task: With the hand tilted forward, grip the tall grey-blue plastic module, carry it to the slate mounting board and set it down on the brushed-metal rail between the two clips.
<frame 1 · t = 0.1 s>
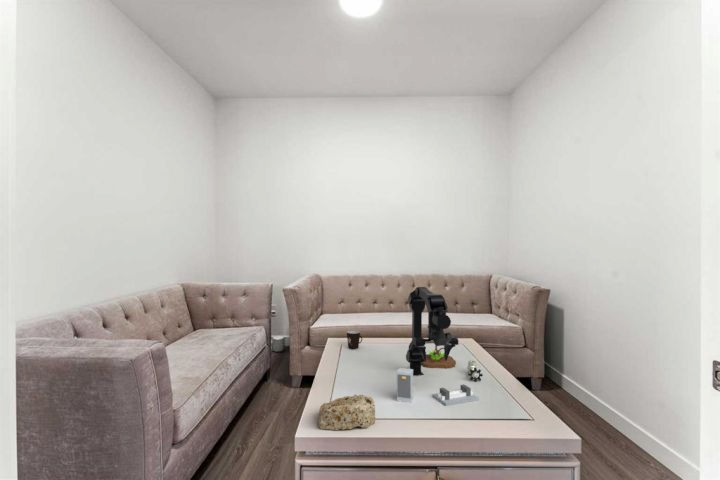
hand: (435, 361, 155), 15 cm above the table, tool pointing down, fingers open, 9 cm apart
rock: (347, 422, 132), on the table
plant: (436, 363, 200), on the table
module: (405, 399, 151), on the table
rail: (455, 398, 152), on the table
valve: (473, 378, 177), on the table
coffee mug: (354, 348, 228), on the table
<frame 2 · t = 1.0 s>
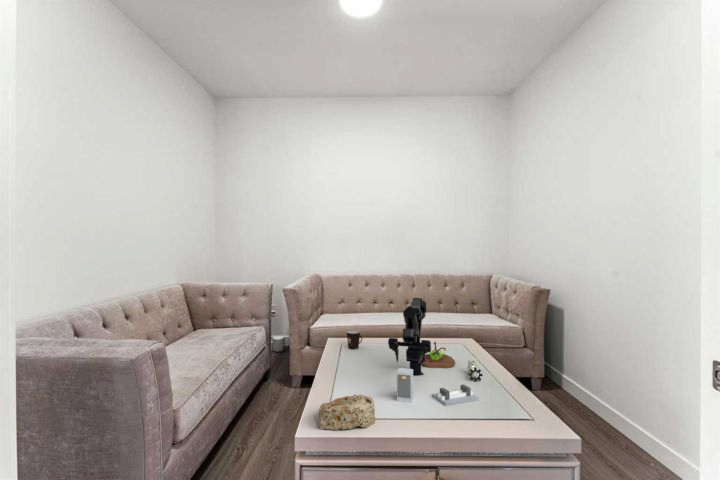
hand: (407, 362, 157), 13 cm above the table, tool tilted 45°, fingers open, 9 cm apart
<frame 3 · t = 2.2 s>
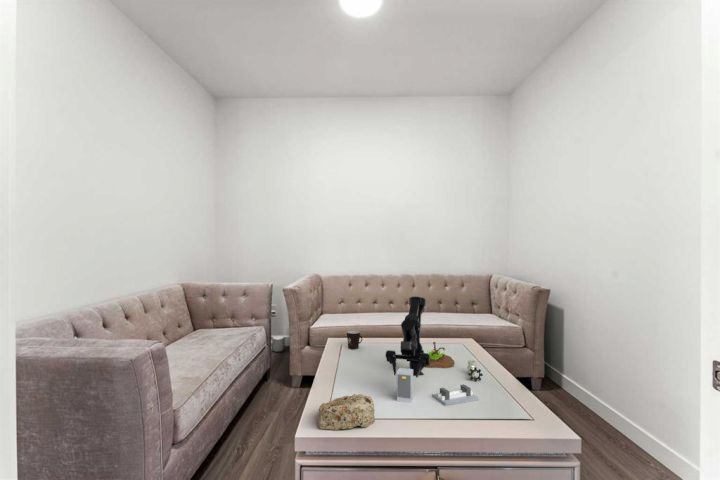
hand: (405, 376, 152), 9 cm above the table, tool tilted 45°, fingers open, 9 cm apart
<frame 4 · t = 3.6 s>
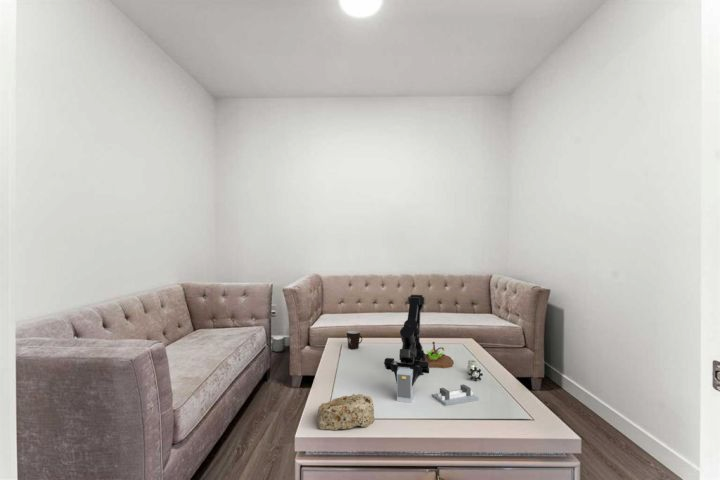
hand: (404, 384, 150), 7 cm above the table, tool tilted 45°, fingers closed on module, 6 cm apart
module: (405, 399, 151), on the table, touching gripper
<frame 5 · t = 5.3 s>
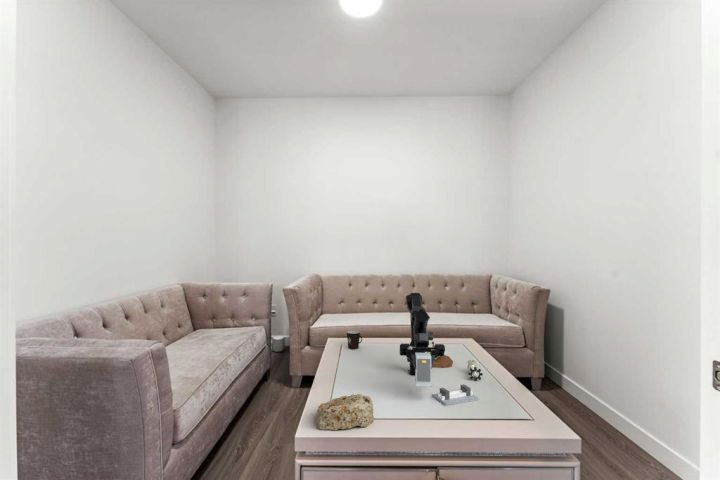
hand: (423, 368, 149), 13 cm above the table, tool tilted 45°, fingers closed on module, 6 cm apart
module: (423, 383, 150), point 7 cm above the table, touching gripper
when the fingers open (10 cm above the table, at t = 7.2 s): module drops 1 cm, resting on rail.
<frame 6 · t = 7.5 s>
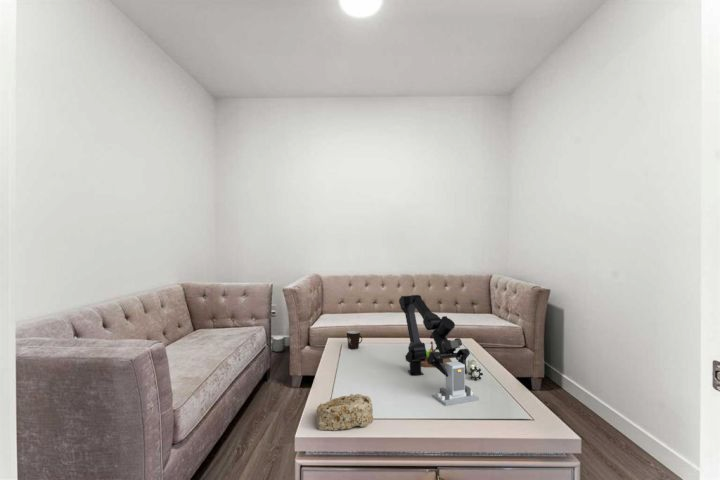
hand: (457, 375, 151), 10 cm above the table, tool tilted 45°, fingers open, 9 cm apart
module: (455, 392, 152), point 2 cm above the table, touching rail
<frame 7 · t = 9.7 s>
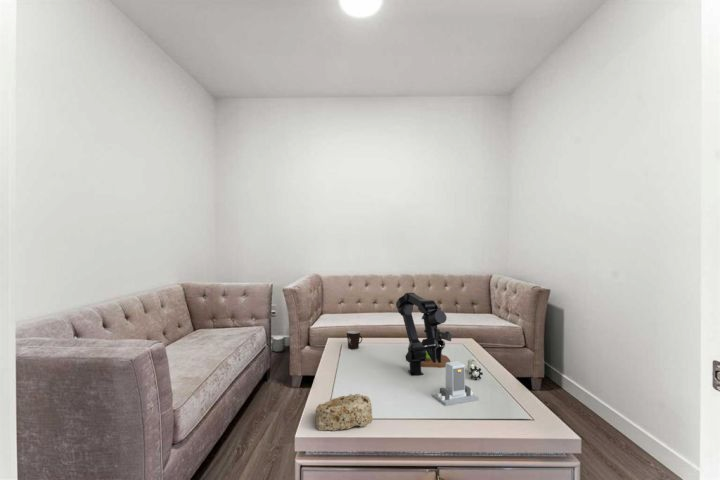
hand: (437, 362, 163), 12 cm above the table, tool tilted 20°, fingers open, 9 cm apart
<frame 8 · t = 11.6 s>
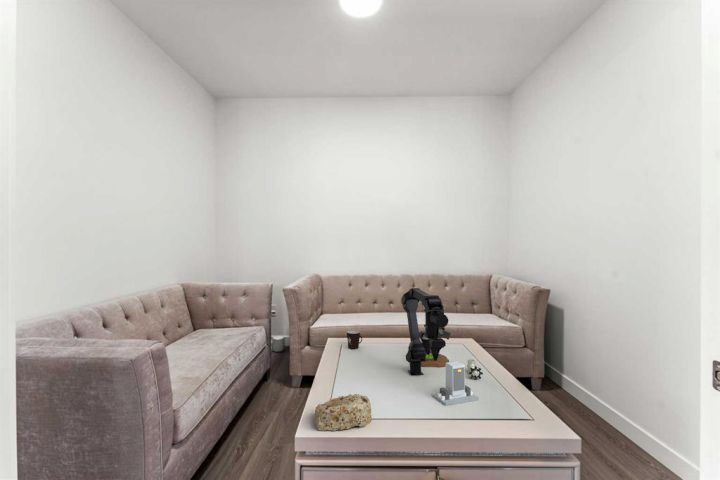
hand: (431, 357, 165), 13 cm above the table, tool pointing down, fingers open, 9 cm apart
at the end: module 0.0 cm off-centre on the rail, point 2.3 cm above the rail's base; module tilted 0°; the gripper is holding nothing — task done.
